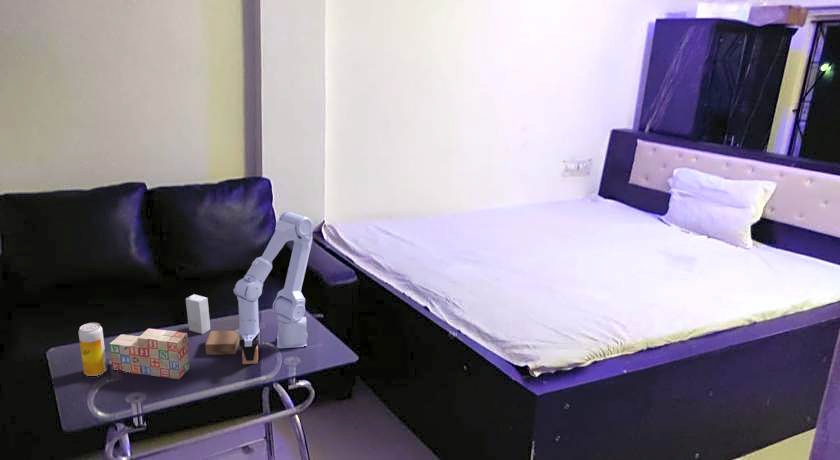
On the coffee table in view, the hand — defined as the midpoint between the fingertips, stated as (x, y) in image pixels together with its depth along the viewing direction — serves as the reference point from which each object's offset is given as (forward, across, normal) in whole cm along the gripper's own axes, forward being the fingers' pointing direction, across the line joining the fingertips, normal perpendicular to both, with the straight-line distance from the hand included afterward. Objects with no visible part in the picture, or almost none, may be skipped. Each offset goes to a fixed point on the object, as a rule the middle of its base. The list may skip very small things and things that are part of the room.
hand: (250, 356), depth 191 cm
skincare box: (+2, -22, -18) cm, 28 cm away
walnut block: (+2, -9, -9) cm, 13 cm away
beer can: (+2, +2, -44) cm, 44 cm away
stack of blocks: (+2, +2, -29) cm, 29 cm away
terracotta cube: (+1, 0, 0) cm, 1 cm away
